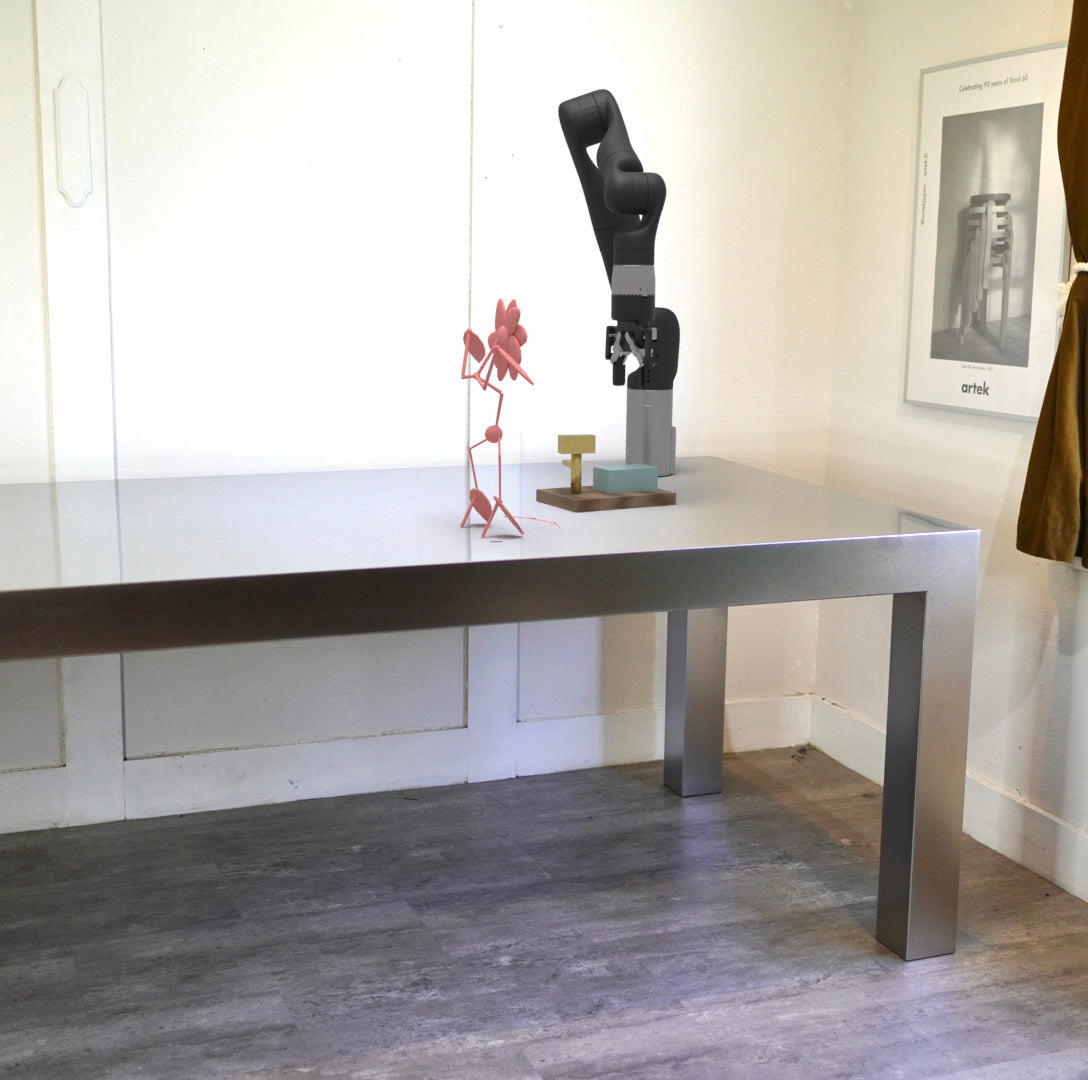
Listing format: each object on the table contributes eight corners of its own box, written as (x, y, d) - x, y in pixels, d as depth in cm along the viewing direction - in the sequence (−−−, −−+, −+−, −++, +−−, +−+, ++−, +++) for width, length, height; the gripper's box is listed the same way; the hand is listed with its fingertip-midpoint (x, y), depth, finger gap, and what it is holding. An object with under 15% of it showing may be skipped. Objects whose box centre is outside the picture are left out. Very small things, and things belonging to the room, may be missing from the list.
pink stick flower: (497, 547, 191) (497, 299, 184) (438, 519, 214) (436, 297, 208) (594, 540, 197) (597, 299, 190) (526, 513, 220) (527, 298, 214)
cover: (640, 486, 239) (641, 463, 238) (657, 489, 234) (658, 467, 234) (592, 489, 234) (593, 466, 234) (608, 493, 230) (609, 470, 229)
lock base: (632, 493, 244) (632, 482, 243) (675, 504, 232) (676, 492, 231) (536, 500, 234) (536, 489, 234) (576, 512, 222) (576, 500, 222)
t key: (549, 487, 235) (550, 432, 233) (582, 486, 236) (583, 431, 234) (561, 493, 228) (561, 436, 226) (594, 492, 229) (595, 435, 227)
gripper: (593, 292, 233) (592, 385, 236) (637, 292, 221) (635, 391, 224) (629, 292, 237) (628, 384, 240) (674, 292, 224) (672, 389, 227)
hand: (631, 387), depth 232 cm, fingers open, 8 cm apart
